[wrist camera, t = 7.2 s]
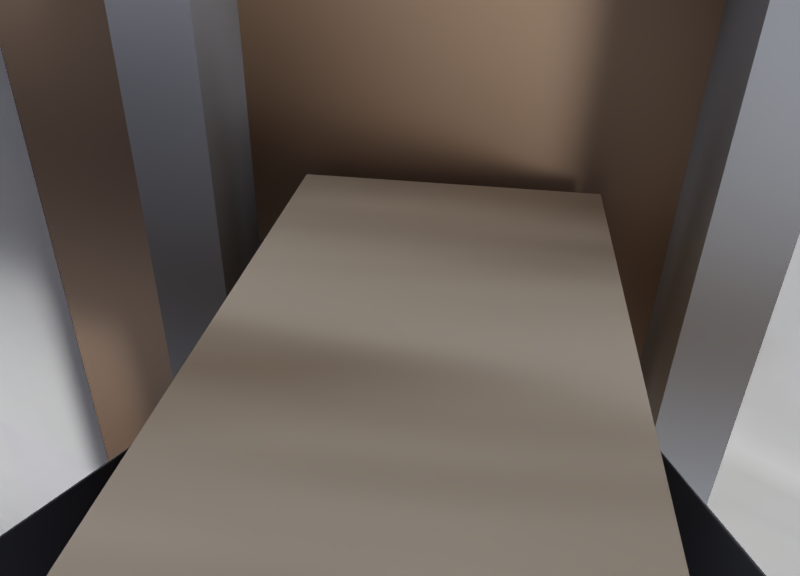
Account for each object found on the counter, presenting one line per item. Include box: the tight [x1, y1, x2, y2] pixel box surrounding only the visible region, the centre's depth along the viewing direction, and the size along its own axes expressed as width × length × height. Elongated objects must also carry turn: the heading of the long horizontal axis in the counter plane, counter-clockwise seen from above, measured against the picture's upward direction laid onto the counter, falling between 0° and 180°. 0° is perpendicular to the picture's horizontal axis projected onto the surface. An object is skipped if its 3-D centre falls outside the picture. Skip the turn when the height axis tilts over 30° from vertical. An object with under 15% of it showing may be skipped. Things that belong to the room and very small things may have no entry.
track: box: [0, 0, 800, 505], centre depth 11 cm, size 14×10×2 cm
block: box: [47, 174, 689, 576], centre depth 8 cm, size 4×4×8 cm
